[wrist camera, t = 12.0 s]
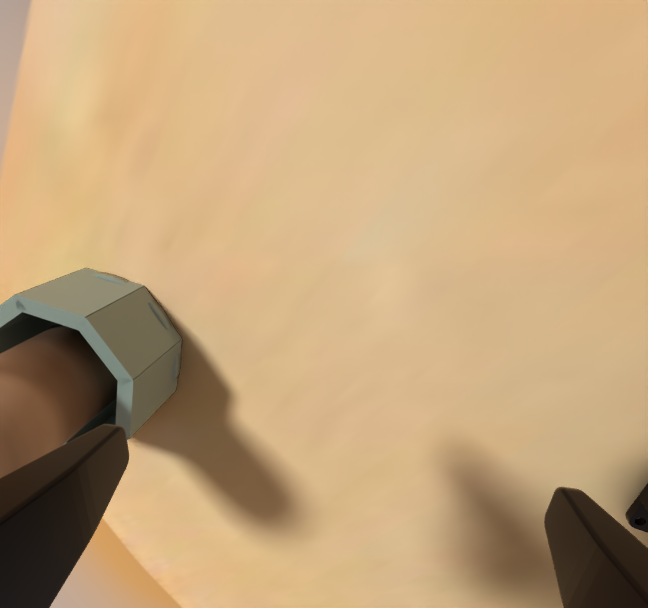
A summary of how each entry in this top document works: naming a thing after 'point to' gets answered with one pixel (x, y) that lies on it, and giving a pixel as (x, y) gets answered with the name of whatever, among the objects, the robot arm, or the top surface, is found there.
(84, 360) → the pepper mill
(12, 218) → the top surface
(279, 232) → the top surface
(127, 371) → the pot
